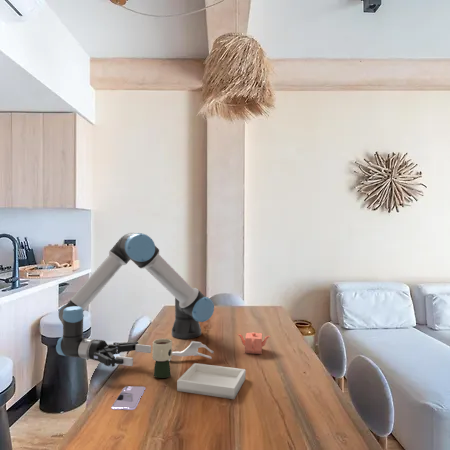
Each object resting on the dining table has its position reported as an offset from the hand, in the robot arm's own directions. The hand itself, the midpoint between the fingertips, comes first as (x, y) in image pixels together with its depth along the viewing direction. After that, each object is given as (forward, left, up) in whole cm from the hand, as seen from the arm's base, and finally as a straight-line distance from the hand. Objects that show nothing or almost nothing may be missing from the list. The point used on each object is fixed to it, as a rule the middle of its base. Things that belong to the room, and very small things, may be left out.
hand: (142, 355), depth 136 cm
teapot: (-36, +35, -7) cm, 51 cm away
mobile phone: (+18, +6, -8) cm, 20 cm away
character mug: (0, +8, -7) cm, 11 cm away
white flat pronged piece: (-19, +12, -7) cm, 24 cm away
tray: (+1, +28, -7) cm, 29 cm away
